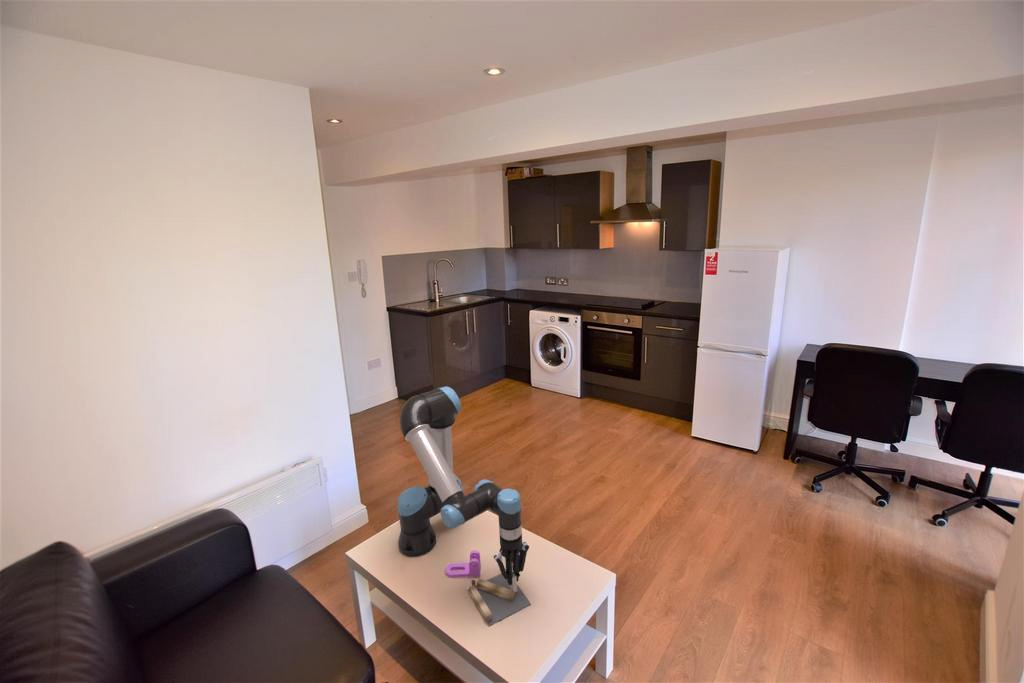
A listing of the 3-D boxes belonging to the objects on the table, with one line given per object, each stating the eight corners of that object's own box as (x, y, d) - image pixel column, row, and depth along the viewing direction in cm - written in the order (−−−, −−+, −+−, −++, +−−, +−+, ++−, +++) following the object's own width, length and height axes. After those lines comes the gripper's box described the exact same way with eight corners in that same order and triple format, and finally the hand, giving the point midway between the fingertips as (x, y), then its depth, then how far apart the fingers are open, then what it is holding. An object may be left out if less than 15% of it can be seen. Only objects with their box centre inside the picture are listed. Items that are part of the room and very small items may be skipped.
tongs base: (467, 590, 162) (466, 582, 161) (475, 586, 163) (474, 579, 162) (486, 623, 149) (486, 615, 148) (495, 619, 150) (494, 611, 149)
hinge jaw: (476, 588, 162) (476, 582, 161) (479, 584, 164) (479, 578, 163) (512, 601, 156) (512, 595, 155) (514, 597, 158) (514, 591, 157)
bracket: (480, 564, 174) (479, 549, 171) (480, 576, 168) (478, 561, 166) (446, 566, 173) (444, 551, 171) (444, 578, 168) (443, 562, 166)
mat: (467, 589, 162) (467, 589, 162) (507, 571, 170) (507, 570, 170) (489, 626, 148) (489, 625, 148) (531, 604, 155) (531, 603, 155)
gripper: (498, 548, 146) (502, 605, 153) (533, 532, 152) (534, 588, 159) (488, 534, 153) (491, 590, 160) (521, 520, 159) (523, 574, 166)
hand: (513, 589), depth 160 cm, fingers closed
